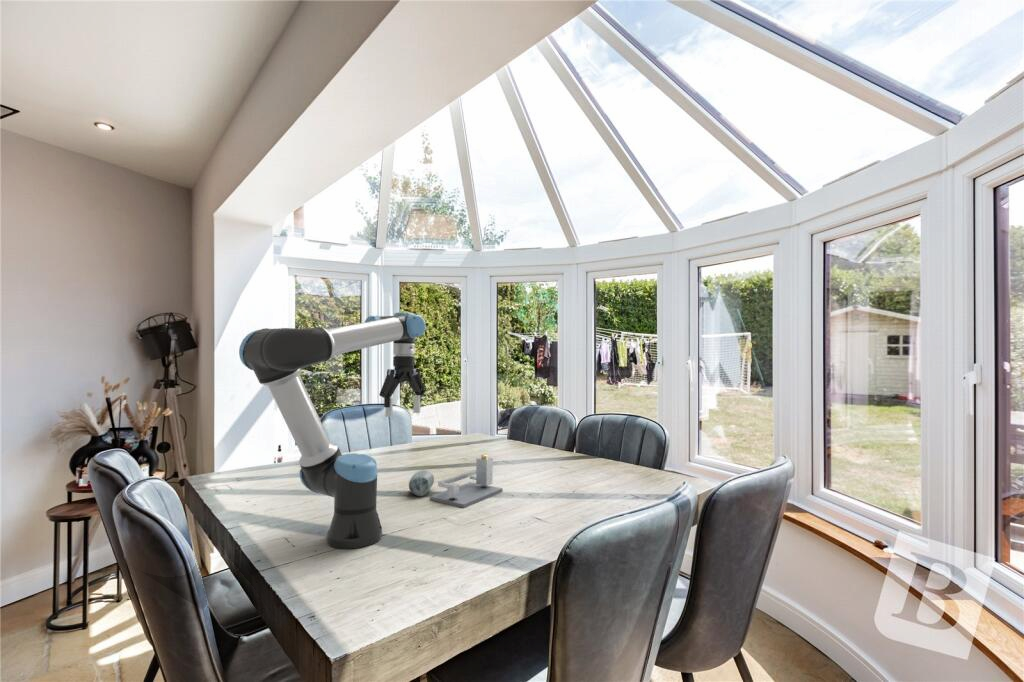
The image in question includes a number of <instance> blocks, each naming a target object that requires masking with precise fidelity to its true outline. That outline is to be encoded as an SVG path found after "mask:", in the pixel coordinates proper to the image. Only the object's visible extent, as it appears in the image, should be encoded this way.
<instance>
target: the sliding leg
mask: <svg viewBox="0 0 1024 682" xmlns="http://www.w3.org/2000/svg"><path fill="white" fill-rule="evenodd" d="M488 456H489V455H488V454H482V455H481V457H478V458H477V457H476V459H475V461H476V465H475V467H476V468H475V470H476V475H473V476H470V477H469V479H470V480H473V481H475V483H476V484H479V485H483V486H491V485H493V469H494V468H493V457H492V458H491V457H488Z"/></svg>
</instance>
